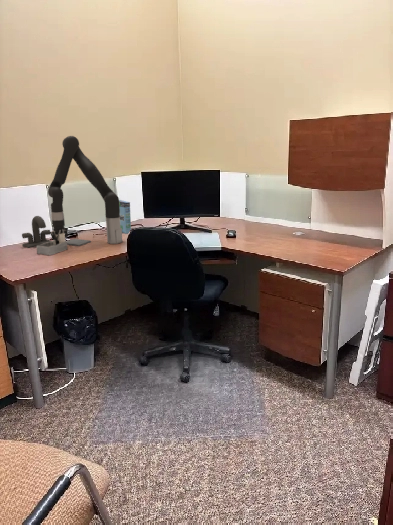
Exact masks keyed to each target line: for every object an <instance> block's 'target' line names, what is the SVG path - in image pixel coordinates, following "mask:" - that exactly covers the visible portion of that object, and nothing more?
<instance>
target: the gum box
mask: <svg viewBox="0 0 393 525" xmlns="http://www.w3.org/2000/svg"><path fill="white" fill-rule="evenodd" d="M119 206H120V228H122V234H125V235H126V234H127V235H128V234H130V233H129V231H130V230H131V231H132V220H131V202H130V201H126V200H122V199H119Z"/></svg>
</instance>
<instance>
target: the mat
mask: <svg viewBox="0 0 393 525" xmlns="http://www.w3.org/2000/svg"><path fill="white" fill-rule="evenodd" d="M65 242H67V246H73V247H74V246H75V247H81V246H84V245H87V244H90V243H92V240H88V239H82V238H81V239H80V238H72V239H70V240H67V241H66V240H65Z"/></svg>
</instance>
